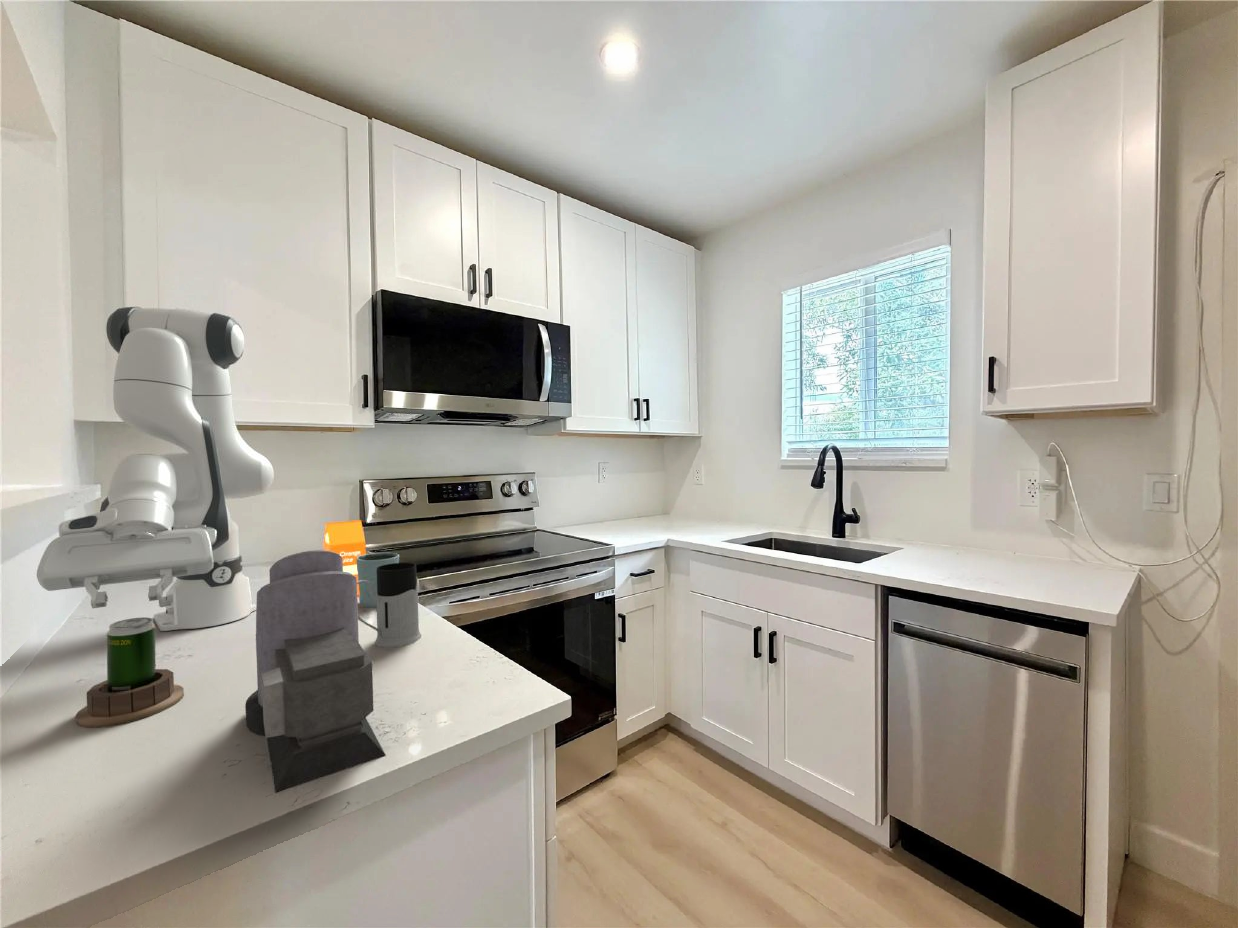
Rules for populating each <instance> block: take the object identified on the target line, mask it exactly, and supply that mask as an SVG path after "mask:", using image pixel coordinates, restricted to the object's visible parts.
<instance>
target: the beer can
mask: <svg viewBox="0 0 1238 928" xmlns="http://www.w3.org/2000/svg"><path fill="white" fill-rule="evenodd" d="M155 624H156V623H154V619H153V618H152V617H146V616H145V617H142V616H141V617H134V618H133V617H131V618H126V619H121V620H118V621H116V622H113V623H111V624H110V625H109V626H108V628H109V629H108V631H107V632H106V675H107V676H106V680H107V693H116V692H122V691H128V690H133V689H136V688H139V687H143V686H146V685H149V684H151V683H153V682H155V669H156V625H155Z"/></svg>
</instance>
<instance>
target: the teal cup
mask: <svg viewBox="0 0 1238 928" xmlns="http://www.w3.org/2000/svg"><path fill="white" fill-rule="evenodd" d="M399 561H400V554H398V553H397V552H388V551H387V552H385V551H384V552H372V553H366V554H365V555H361V556H358V557H357V558H356V563H357V571H358V581H360V580H366V581H368V582H369V583H370V584H371V585H372V588H373V596H374V597H376V593H377V567H379V566H382V565H386V564H392V563H400V562H399ZM358 585H359V596H358V597H359V598H358V599H359V600H358V601H359V605H360V606H361V607H363V606H364V608H377V602H376V599H372V598H371V596H370V589H369V586H368V584H367V583H365V582H361V583H359V584H358Z"/></svg>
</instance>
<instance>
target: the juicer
mask: <svg viewBox="0 0 1238 928" xmlns="http://www.w3.org/2000/svg"><path fill="white" fill-rule="evenodd" d="M358 599H359V598H358V596H357V578H356V577H355V576H354V575H353V574H351V573H349V572H343V558H342V557H341V556H340V555H339V554H338V553H335V552H332V551H325V550H324V549H321V550H320V549H319V550H307V551H301V552H297V553H293V554H289V555H287V556H285V557H282V558H280V559H279V560H277V561H276V562H274V563H273V565H272V566H270V568H269V583H267V584H265V585H263V586H261V587H260V589H259V590H258V591H257V592H256V610H255V612H256V614H255V617H256V618H255V621H256V622H255V651H256V674H257V675H256V678H257V679H256V680H257V682H256V683H257V689H256V690H255V691H254V692H253V693H251V694H250V695H249V697H248V698H247V699H246V701H245V703H244V705H245V706H244V708H245V726H246V728H247V731H249V732H250V733H251V734H254V735H257V736H261V737H262V736H263V737H265V739H267V746H268V753H269V759H270V761H269V762H270V766H271V772H272V774H271V775H272V780H273V786H274V794H277V793H280V792H283V791H287V790H289V789H293V788H295V787H298V786H301V785H305V784H308V783H310V782H313V781H316V780H319V779H322V778H324V777H328V776H330V775H333V774H337V773H339V772H343V771H345V770H348V769H351V768H354V767H357V766H360V765H362V764H365V763H370V762H372V761H375V760H376V759H381V758H383V757H386V756H387V754H386V753H385V751H384V749H383V747H382V745H381V744H380V742H379V739H378V738H377V736H376V734H375V732H374V731H373V728H372V727H371V725H370V723H369V720H367V717H368V716H369V715H371V714H372V713H373V712H374V682H373V681H374V680H373V679H374V678H373V661H372V660H371V658H370V657H369V655H368V654H367V653H366V652H365V650H364V649H363V647H362V645H361V644H360V640H359V637H360V636H359V620H358V615H359V608H358V607H359V605H358V604H359V602H358V601H359V600H358Z"/></svg>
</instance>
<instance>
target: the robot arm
mask: <svg viewBox="0 0 1238 928" xmlns="http://www.w3.org/2000/svg"><path fill="white" fill-rule="evenodd" d="M105 327H106V328H105V329H106V330H105V331H106V337H107V339H108V343H109V344H110V346H111V348H112V349H113V350H115V352H117V354H118V356H117V360H116V365H115V369H114V375H113V376H114V378H113V385H112V386H113V387H112V396H113V397H112V399H113V401H112V402H113V407H114V411H115V412H116V414H117V416H118V417H119V418H120V420H122V421H123V423H126V424H127V425H128V426H129V427H131V428H133V429H134V430H137V431H139V432H141V433H143V434H145V435H149V436H151V437H154V438H157V439H159V440H163V441H165V442H168V443H171V444H173V445H176V446H178V447H179V448H182V449H183V450H184V451H186V452H181V453H180V452H178V453H177V452H175V453H173V452H170V453H165V454H164V453H163V454H152V453H151V454H150V453H149V454H148V453H137V454H131V455H130V454H129V455H127V456H126V457H123V458H122V459H121V460H120V461H119V462H118V464H117V466H116V468H115V470H114V472H113V474H112V477H111V480H110V482H109V487H108V490H107V491H108V492H107V497H105V499H103V500H102V502H101V504H100V505H101V506H100V509H99V512H96V513H93V514H89V515H86V516H82V517H81V516H80V517H76V518H71V519H67V520H64V521H62V522H61V523H60V524H59V525H58V537H56V538H54V539H52V540H51V542H49V544H48V545H47V546H46V548H45V550H44V551H43V554H42V556H41V558H40V561H39V563H38V566H37V570H36V579H37V581H38V583H39V585H40V586H41V587H42V588H43V589H45V590H46V591H50V592H52V591H53V592H54V591H60V590H61V591H62V590H71V589H77V588H85V590H86V593H88V594H89V596H90V597H91V598H90V606H91V609H98V608H105V607H107V605H108V601H109V599H108V598H109V597H108V593H107V591H106V590H105V591H100V589H101V586H105V585H112V584H123V583H133V582H140V581H150V580H158V579H159V581H158V582H157V583H156V584H155V585H149V587H148V594H147V597H148V602H152V601H153V602H154V601H158V606H159V608H165V610H161V611H159V612H156V613H154V614H153V618H152V619H153V621H154V622H155V624H156V626H157V627H158V629H159V630H160V632H168V631H175V630H188V629H189V630H192V629H202V628H207V627H215V626H219V625H220V626H221V625H223V624H227V623H231V622H235V621H238V620H241V619H243V618H246V617H248V616H249V615H250V614H251V613H252V612H254V611H256V604H257V603H256V604H255V603H252V596H251V595H252V594H251V586H250V580H249V577H248V576H246V574H243V572H242V571H243V563H244V562H243V559H242V556H241V555H240V536H239V535H240V533H239V531H240V530H239V526H238V524H237V523H236V521H234V519H232V517H231V513H230V510H229V508H228V505H227V503H226V500H229V499H230V500H232V499H235V500H236V499H244V498H250V497H256V496H259V495H264V494H265V493H266V492H267V491H268V490H269V489H270V488H271V486H272V485H273V482H274V479H275V470H274V467H273V465H272V463H271V462H270V460H269V459H268V458H267V457H265V456H264V455H263V454H261V453H259V452H258V451H256V450H254V449H253V448H252V447H251V446H250V445H248V443H247V442H246V441H245V440H244V438H242V436H241V434H240V432H239V430H238V427H237V424H236V420H235V415H234V413H235V412H234V408H233V407H234V405H233V395H232V384H231V377H230V372H229V368H230V366H231V365H234V364H235V363H237V362H238V361H239V360H240V359H241V358H242V356H243V353H244V349H245V336H244V333H243V330H242V326H241V325H240V323H238V322H237V321H236V320H235V319H234V317H231V316H229V315H225V314H221V313H217V312H213V313H210V312H204V311H199V310H192V309H185V308H159V307H157V308H154V307H153V308H152V307H151V308H150V307H146V308H142V307H140V306H127V307H126V306H125V307H121V308H120V307H119V308H117V309H116V310H114V311H113V312H112V313H111V314H110V315H109V317H108V318H107V320H106V326H105ZM174 578H176V579H175V582H174ZM172 583H173V584H172ZM171 584H172V585H171ZM169 586H170V588H169V589H168V590H167V591H166V593H165V596H163V595H164V592H165V590H166V589H167V588H168V587H169Z"/></svg>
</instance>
